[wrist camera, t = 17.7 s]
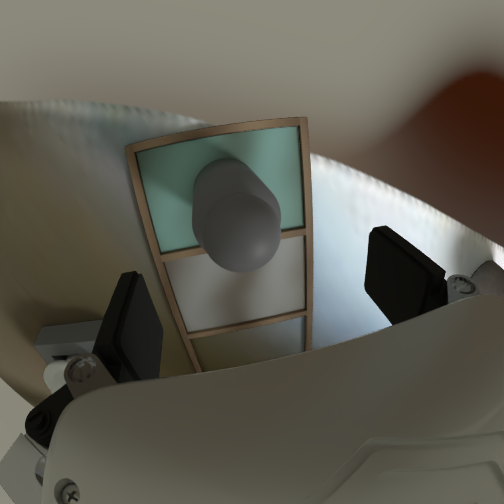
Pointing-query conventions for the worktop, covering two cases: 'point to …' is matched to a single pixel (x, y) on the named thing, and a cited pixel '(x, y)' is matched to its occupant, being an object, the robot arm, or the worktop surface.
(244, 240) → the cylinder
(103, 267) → the worktop surface
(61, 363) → the dome
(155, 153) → the brown flat rectangular frame
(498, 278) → the pillar candle
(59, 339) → the collar
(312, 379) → the robot arm
